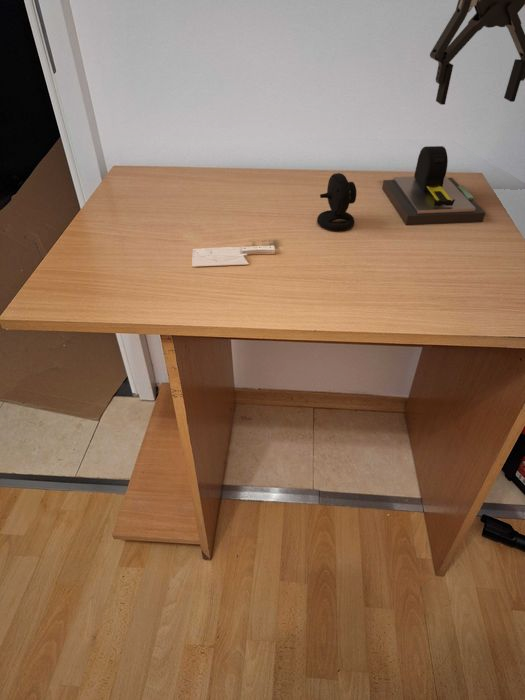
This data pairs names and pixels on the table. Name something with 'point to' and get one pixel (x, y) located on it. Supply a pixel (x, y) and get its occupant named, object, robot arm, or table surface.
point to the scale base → (437, 218)
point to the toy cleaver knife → (227, 255)
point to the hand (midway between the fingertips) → (474, 101)
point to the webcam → (338, 203)
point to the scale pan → (432, 197)
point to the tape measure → (433, 173)
